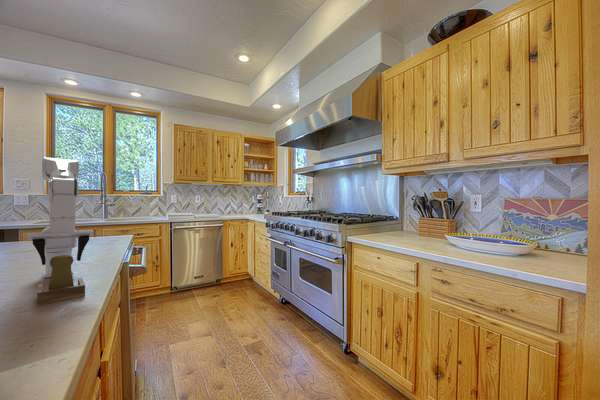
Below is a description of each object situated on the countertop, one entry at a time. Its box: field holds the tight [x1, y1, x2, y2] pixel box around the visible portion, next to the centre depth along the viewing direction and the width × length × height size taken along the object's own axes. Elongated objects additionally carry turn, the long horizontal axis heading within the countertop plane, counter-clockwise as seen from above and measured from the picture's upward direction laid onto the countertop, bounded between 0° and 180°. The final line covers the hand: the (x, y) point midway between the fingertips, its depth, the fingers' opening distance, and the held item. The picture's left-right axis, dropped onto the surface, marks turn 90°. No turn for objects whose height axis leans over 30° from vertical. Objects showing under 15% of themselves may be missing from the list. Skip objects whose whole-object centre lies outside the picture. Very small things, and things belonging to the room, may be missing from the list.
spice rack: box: [36, 277, 86, 306], centre depth 75 cm, size 10×10×3 cm
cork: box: [47, 255, 75, 291], centre depth 76 cm, size 6×6×11 cm
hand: (61, 262), depth 76 cm, fingers open, 7 cm apart
